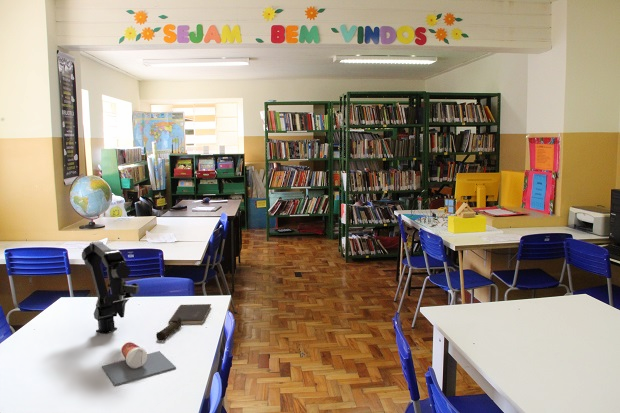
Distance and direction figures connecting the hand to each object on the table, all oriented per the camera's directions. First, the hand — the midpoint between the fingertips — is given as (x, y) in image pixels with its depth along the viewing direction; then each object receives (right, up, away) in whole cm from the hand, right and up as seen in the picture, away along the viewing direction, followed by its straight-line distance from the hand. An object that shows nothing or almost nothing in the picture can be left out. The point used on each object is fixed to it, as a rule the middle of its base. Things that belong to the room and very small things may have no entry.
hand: (122, 317), depth 207 cm
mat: (+14, -14, -21) cm, 29 cm away
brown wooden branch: (+16, -10, +14) cm, 23 cm away
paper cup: (+7, -10, -12) cm, 17 cm away
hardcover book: (+20, -8, +35) cm, 41 cm away
